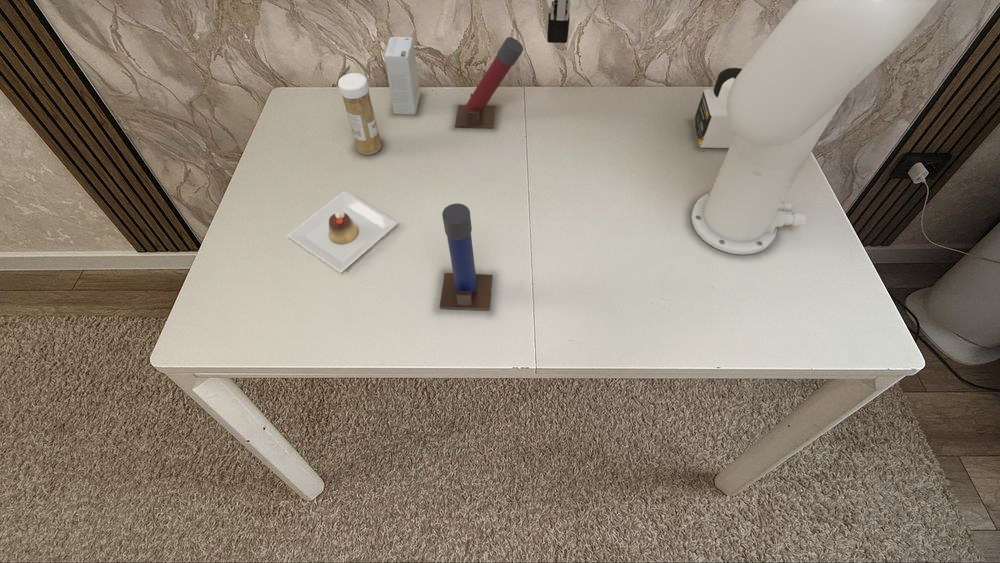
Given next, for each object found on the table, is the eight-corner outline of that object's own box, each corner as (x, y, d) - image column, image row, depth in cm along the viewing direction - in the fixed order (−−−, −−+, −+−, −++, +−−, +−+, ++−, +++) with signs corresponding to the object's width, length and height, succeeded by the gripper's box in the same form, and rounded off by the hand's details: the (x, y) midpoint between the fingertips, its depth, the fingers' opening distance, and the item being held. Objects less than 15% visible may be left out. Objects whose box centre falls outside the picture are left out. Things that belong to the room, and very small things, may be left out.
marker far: (481, 108, 103) (523, 43, 92) (479, 119, 101) (523, 55, 90) (465, 100, 101) (506, 33, 90) (463, 111, 99) (505, 45, 89)
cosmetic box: (398, 94, 106) (387, 35, 97) (422, 95, 106) (413, 35, 96) (393, 115, 103) (381, 55, 93) (417, 116, 103) (408, 56, 93)
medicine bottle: (692, 122, 101) (712, 62, 91) (732, 122, 101) (756, 62, 91) (699, 148, 97) (720, 88, 87) (740, 149, 96) (767, 89, 87)
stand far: (495, 107, 104) (495, 93, 101) (493, 128, 100) (493, 114, 98) (458, 106, 104) (457, 92, 102) (455, 127, 101) (453, 113, 98)
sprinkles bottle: (386, 149, 97) (371, 82, 86) (363, 159, 96) (344, 92, 85) (375, 135, 100) (359, 68, 89) (352, 145, 98) (332, 77, 87)
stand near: (492, 276, 81) (492, 263, 78) (489, 311, 78) (489, 298, 75) (444, 274, 81) (442, 261, 79) (439, 309, 78) (437, 296, 75)
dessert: (342, 277, 81) (334, 257, 77) (288, 239, 86) (277, 218, 82) (399, 227, 87) (394, 206, 83) (345, 194, 91) (338, 173, 87)
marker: (478, 277, 79) (471, 203, 67) (476, 296, 77) (468, 224, 65) (455, 276, 79) (443, 202, 67) (453, 295, 77) (440, 223, 65)
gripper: (598, -63, 70) (581, 68, 85) (593, -111, 78) (579, 15, 93) (538, -64, 70) (532, 66, 85) (540, -112, 79) (534, 14, 94)
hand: (557, 39), depth 89 cm, fingers closed
